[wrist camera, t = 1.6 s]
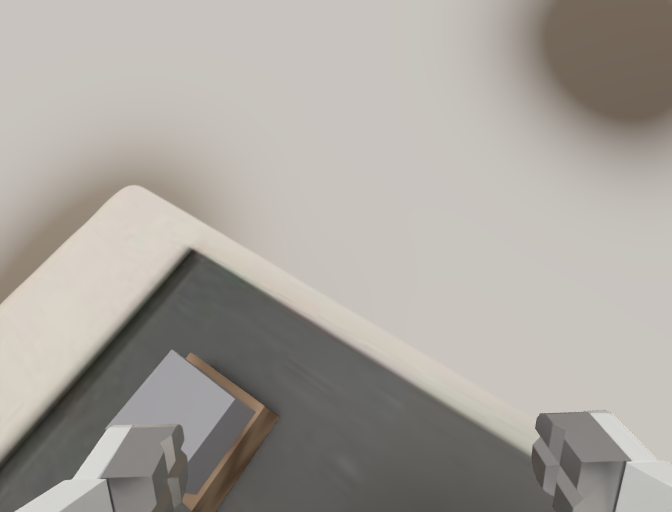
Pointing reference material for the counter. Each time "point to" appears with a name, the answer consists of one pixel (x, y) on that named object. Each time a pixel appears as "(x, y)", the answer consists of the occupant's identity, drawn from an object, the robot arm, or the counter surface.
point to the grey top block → (189, 414)
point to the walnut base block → (239, 451)
